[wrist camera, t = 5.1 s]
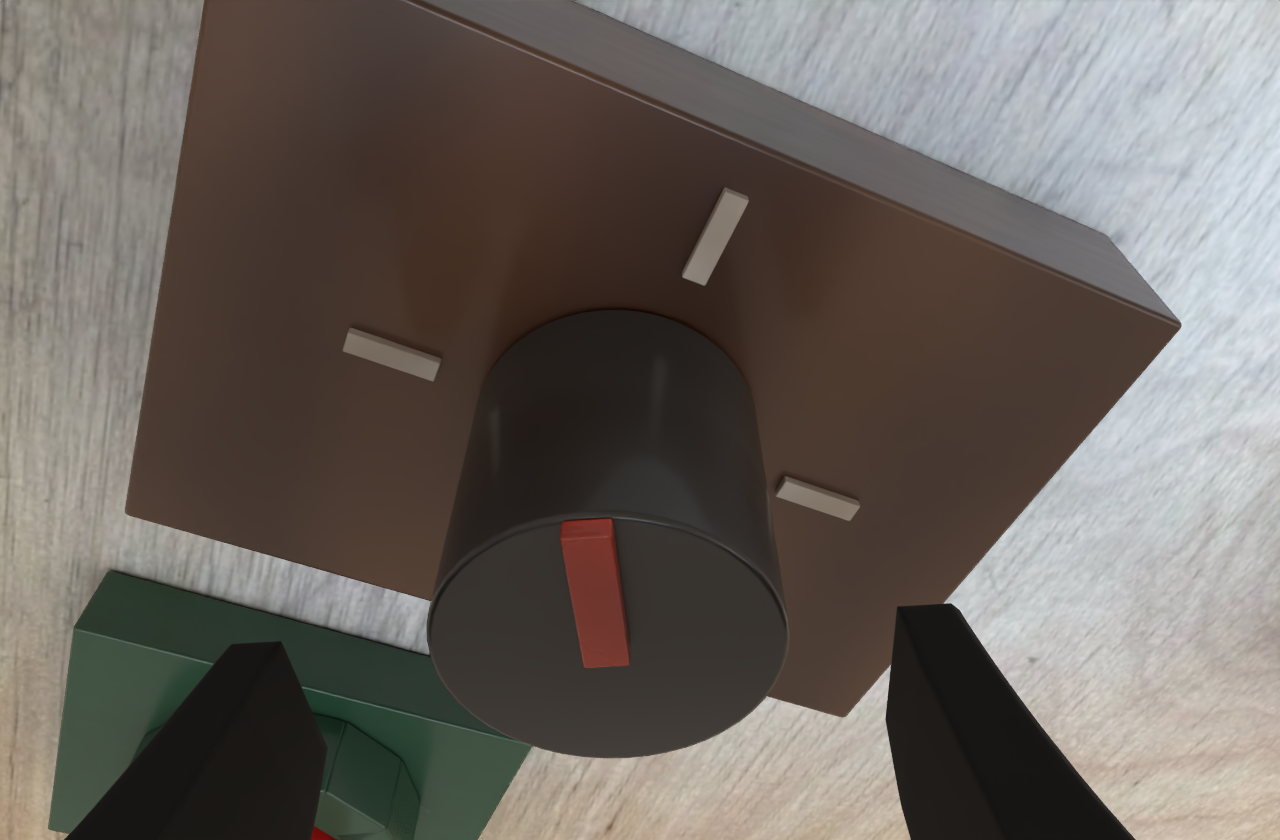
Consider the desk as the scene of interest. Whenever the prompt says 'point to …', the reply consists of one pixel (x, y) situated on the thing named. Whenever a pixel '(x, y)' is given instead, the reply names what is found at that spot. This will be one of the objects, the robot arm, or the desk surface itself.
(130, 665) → the button box
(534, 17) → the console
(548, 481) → the rotary knob
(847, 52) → the desk surface
